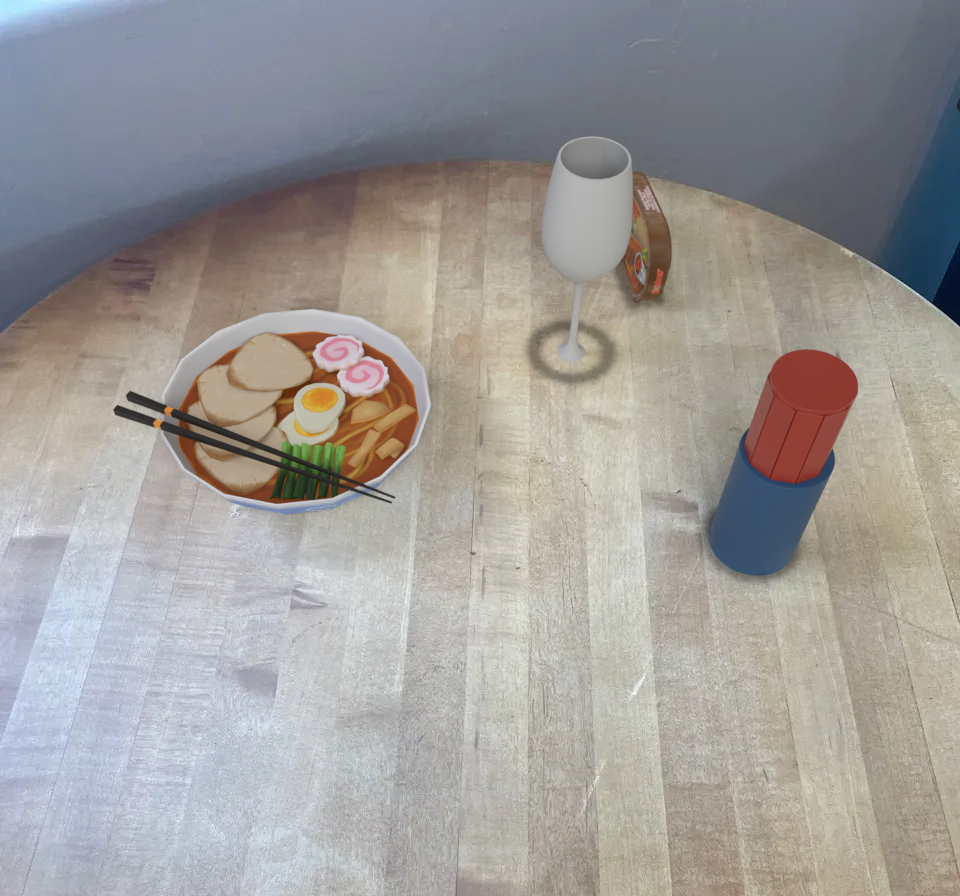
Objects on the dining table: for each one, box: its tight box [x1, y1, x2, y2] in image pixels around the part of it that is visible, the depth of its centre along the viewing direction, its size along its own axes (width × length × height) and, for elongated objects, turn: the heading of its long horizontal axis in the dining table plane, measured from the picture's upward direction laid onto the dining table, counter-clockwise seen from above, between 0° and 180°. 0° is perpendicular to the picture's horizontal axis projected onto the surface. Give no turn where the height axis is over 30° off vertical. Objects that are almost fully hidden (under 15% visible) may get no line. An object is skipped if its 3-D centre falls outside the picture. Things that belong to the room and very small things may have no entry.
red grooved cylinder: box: [744, 348, 859, 484], centre depth 72 cm, size 6×6×7 cm
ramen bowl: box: [112, 308, 432, 515], centre depth 86 cm, size 25×23×8 cm
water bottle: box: [708, 426, 836, 577], centre depth 78 cm, size 7×7×18 cm
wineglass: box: [540, 136, 633, 363], centre depth 88 cm, size 8×8×21 cm
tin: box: [620, 170, 673, 302], centre depth 101 cm, size 15×3×8 cm, turn 10°
